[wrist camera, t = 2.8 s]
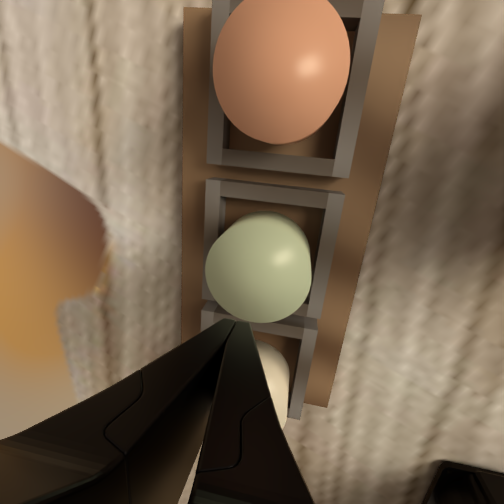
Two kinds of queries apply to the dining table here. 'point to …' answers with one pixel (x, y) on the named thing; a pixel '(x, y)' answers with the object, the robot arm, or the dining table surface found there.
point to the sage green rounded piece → (260, 267)
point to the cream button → (275, 378)
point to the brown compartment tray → (293, 185)
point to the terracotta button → (281, 68)
